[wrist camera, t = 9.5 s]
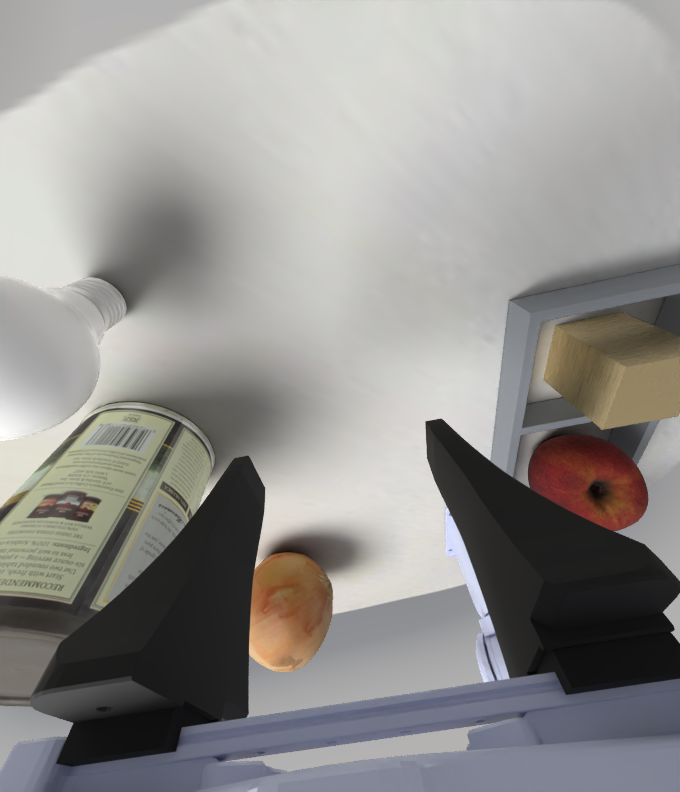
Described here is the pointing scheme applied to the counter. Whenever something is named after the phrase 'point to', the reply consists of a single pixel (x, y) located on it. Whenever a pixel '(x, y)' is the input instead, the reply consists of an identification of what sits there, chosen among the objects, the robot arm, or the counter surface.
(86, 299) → the lightbulb
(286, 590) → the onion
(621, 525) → the apple
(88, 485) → the coffee can
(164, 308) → the counter surface
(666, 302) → the grey divided tray
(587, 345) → the wooden block
